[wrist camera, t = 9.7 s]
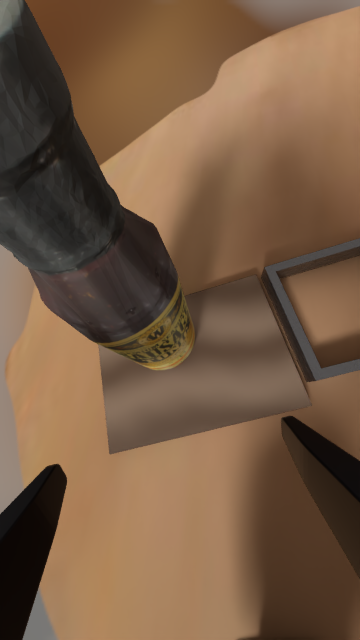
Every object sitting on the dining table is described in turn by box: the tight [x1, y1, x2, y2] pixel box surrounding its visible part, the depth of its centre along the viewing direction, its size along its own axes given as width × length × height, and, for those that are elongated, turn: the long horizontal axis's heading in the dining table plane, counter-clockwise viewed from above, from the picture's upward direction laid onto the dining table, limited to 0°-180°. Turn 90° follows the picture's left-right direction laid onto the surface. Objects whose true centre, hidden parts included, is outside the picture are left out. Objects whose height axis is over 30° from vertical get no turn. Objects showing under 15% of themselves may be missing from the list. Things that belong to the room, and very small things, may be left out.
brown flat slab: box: [98, 275, 312, 454], centre depth 21 cm, size 13×18×1 cm
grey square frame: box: [261, 238, 360, 382], centre depth 20 cm, size 11×11×2 cm
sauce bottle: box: [0, 0, 195, 370], centre depth 13 cm, size 7×6×20 cm
